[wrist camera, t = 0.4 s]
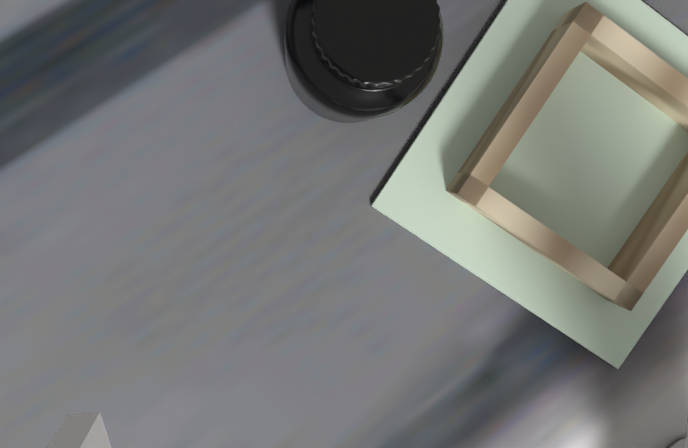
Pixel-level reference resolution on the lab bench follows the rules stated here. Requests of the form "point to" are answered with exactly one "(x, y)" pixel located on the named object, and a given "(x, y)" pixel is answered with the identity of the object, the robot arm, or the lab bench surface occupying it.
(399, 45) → the supplement bottle
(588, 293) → the mat
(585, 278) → the wooden square frame
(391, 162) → the lab bench surface
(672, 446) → the thermal camera
